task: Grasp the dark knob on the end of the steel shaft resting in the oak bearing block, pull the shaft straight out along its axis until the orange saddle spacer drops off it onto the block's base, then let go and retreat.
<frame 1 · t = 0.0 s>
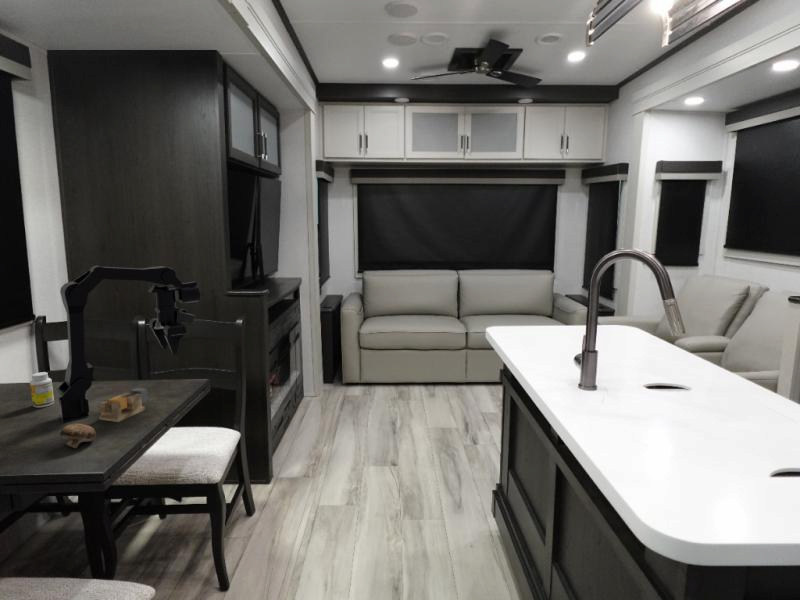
hand: (169, 351, 166), 15 cm above the table, fingers open, 9 cm apart
spacer: (118, 407, 149), point 2 cm above the table, touching shaft
shaft: (127, 400, 152), point 3 cm above the table, slide at 0.0 cm, touching spacer
bearing block: (122, 414, 150), on the table
supplement bottle: (43, 405, 158), on the table
mushroom: (79, 445, 130), on the table
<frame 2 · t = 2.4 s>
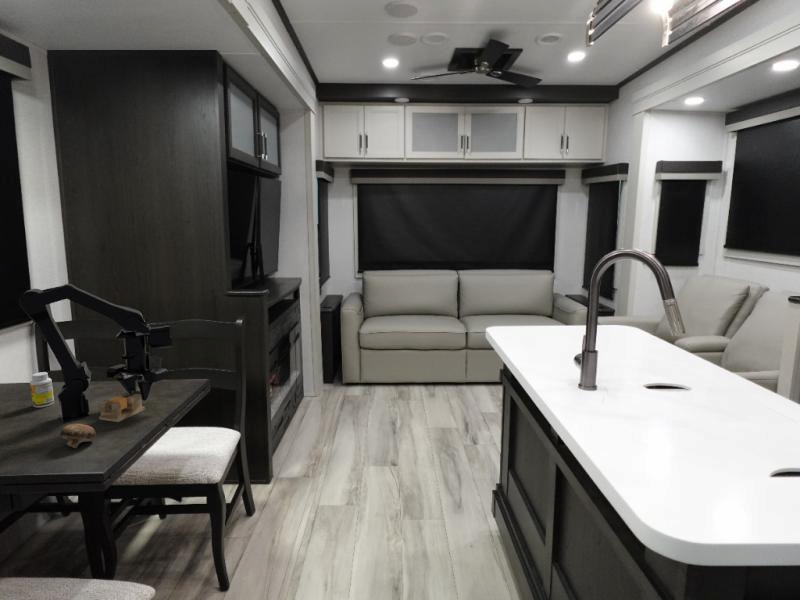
hand: (139, 399, 156), 2 cm above the table, fingers closed on shaft, 4 cm apart
shaft: (127, 400, 152), point 3 cm above the table, slide at 0.0 cm, touching gripper, spacer
everything else where it was.
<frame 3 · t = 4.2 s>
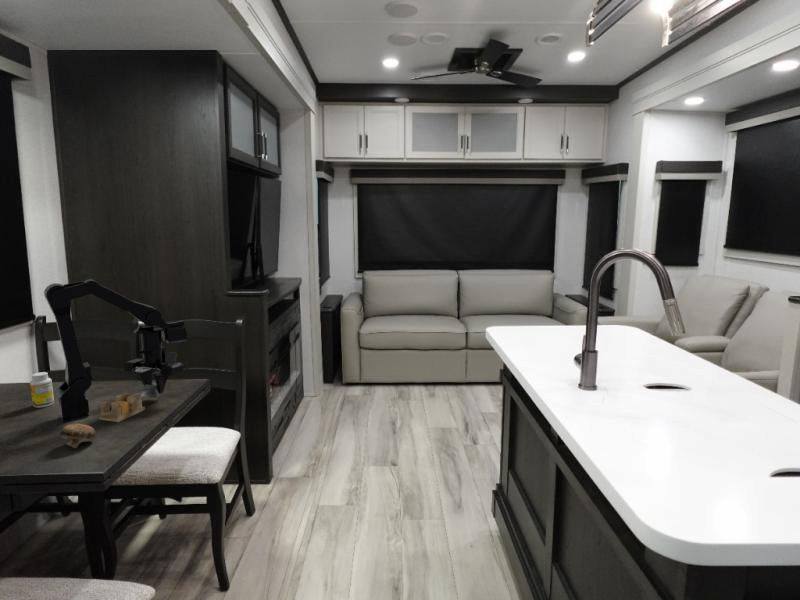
hand: (155, 392, 163), 2 cm above the table, fingers closed on shaft, 4 cm apart
spacer: (120, 412, 150), point 1 cm above the table, touching bearing block
shaft: (143, 394, 158), point 3 cm above the table, slide at 5.9 cm, touching gripper
everything else where it was.
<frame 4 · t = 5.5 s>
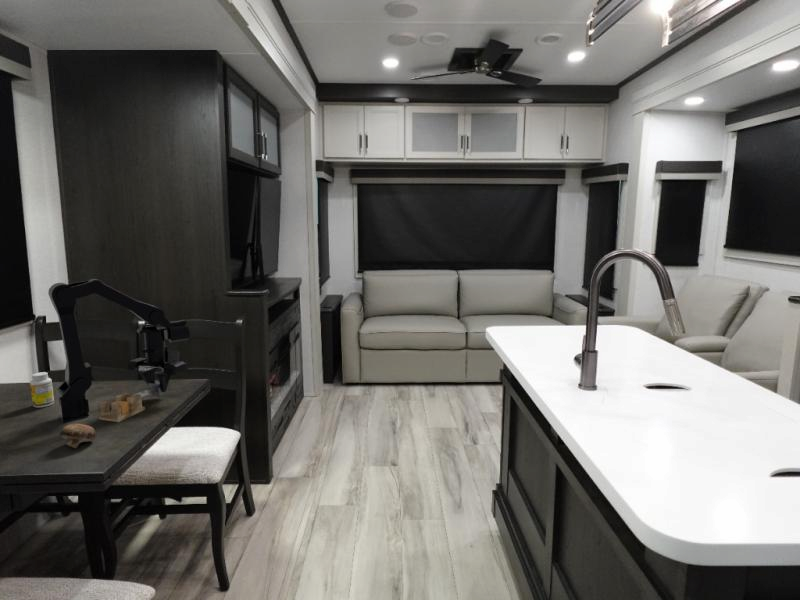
hand: (158, 391, 164), 2 cm above the table, fingers closed on shaft, 4 cm apart
shaft: (146, 392, 159), point 3 cm above the table, slide at 7.3 cm, touching gripper
everything else where it was.
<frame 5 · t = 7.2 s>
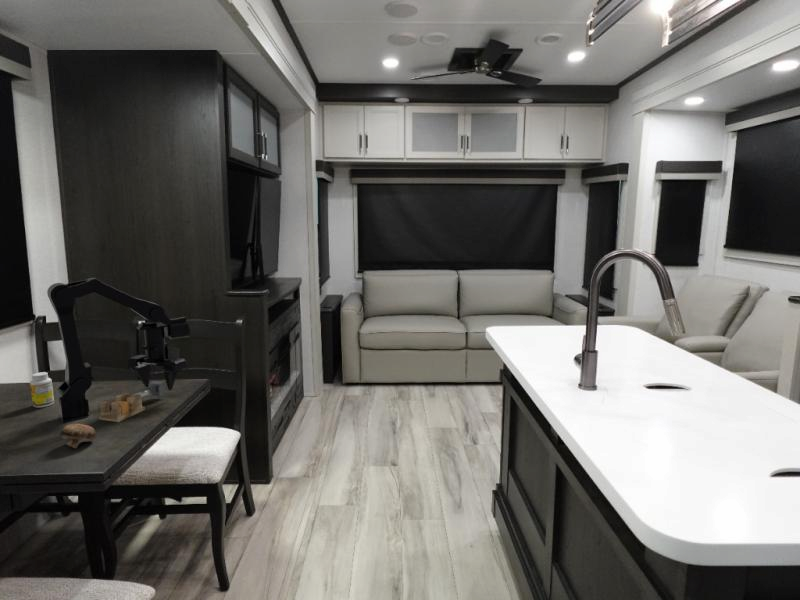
hand: (158, 388, 164), 3 cm above the table, fingers open, 9 cm apart
shaft: (146, 392, 159), point 3 cm above the table, slide at 7.3 cm
everything else where it was.
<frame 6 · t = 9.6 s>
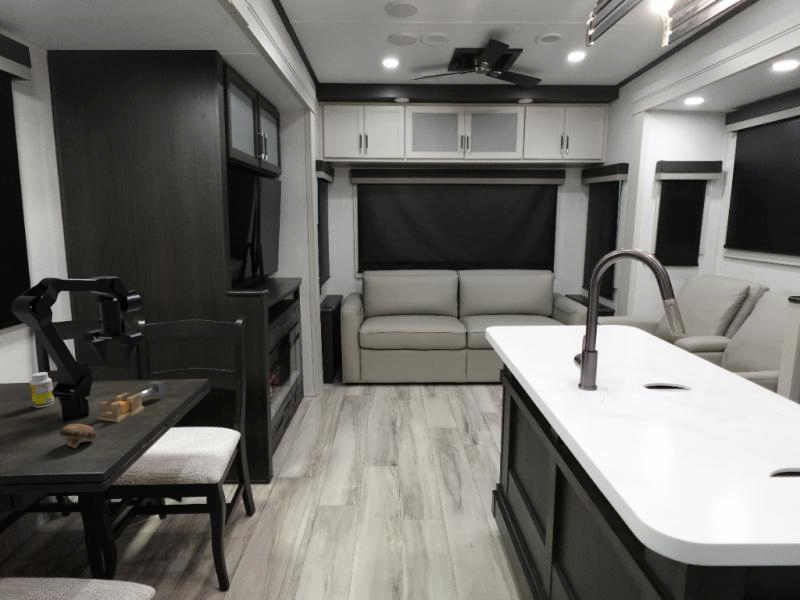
hand: (115, 362, 162), 12 cm above the table, fingers open, 9 cm apart
nothing on the table moved.
at the end: shaft slide at 7.3 cm; spacer point 1.0 cm above the table; the gripper is holding nothing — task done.
